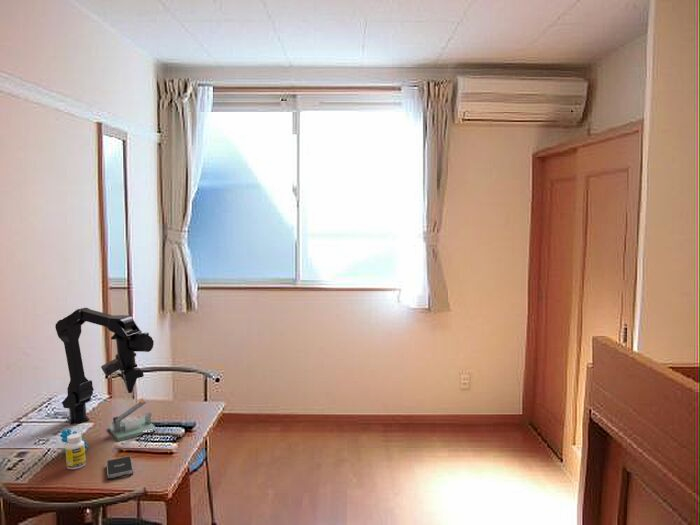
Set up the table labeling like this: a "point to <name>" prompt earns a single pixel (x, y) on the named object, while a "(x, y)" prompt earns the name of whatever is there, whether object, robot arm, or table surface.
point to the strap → (131, 409)
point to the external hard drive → (119, 468)
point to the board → (132, 433)
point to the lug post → (148, 418)
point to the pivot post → (116, 424)
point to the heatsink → (130, 423)
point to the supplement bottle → (75, 451)
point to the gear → (65, 434)
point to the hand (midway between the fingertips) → (129, 392)
